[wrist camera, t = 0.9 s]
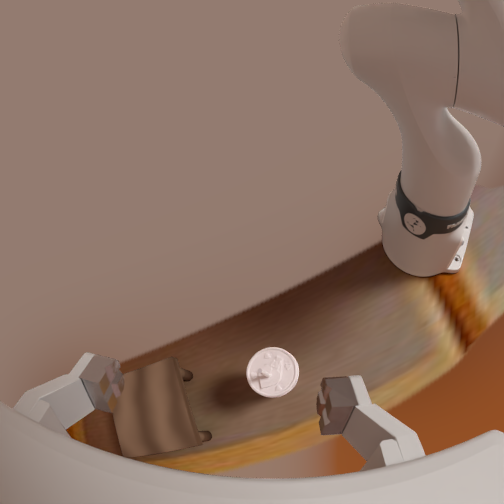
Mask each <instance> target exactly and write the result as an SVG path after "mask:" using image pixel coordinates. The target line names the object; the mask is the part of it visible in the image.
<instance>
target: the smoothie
mask: <svg viewBox="0 0 504 504" xmlns="http://www.w3.org/2000/svg"><path fill="white" fill-rule="evenodd" d="M246 376H247V380H248V383H249V385H250V386H251V388H252V389H253V390H254V391H255V392H256V393H258V394H260V395H262V396H265V397H271V398H274V397H280V396H282V395H285V394H287V393H288V392H289V391H290V390H292V389H293V388H294V387H295V386H296V384H297V380H298V377H299V367H298V363H297V361H296V359H295V358H294V357H293V356H292V354H290V353H289V352H287V351H286V350H284V349H281V348H277V347H269V348H265V349H262V350H260V351H259V352H257V353H256V354H255V355H254V356H253V357H252V358H251V359H250V361H249V363H248V366H247V371H246Z"/></svg>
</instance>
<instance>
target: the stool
mask: <svg viewBox="0 0 504 504" xmlns="http://www.w3.org/2000/svg"><path fill="white" fill-rule="evenodd" d="M123 376H124V383H125V384H124V390H123V392H122V394H121V395H120V396H118V397H116V399H117V404H116V406H115V408H114V410H113V412H112V413H113V418H114V423H115V427H116V431H117V436H118V440H119V444H120V447H121V451H122V455H123V457H126V458H131V457H139V456H146V455H153V454H159V453H165V452H171V451H176V450H181V449H186V448H190V447H195V446H199V445H203V444H202V442H204V441H209V440H211V438H212V435H211V433H210V432H209V431H198V429H197V426H196V423H195V420H194V416H193V413H192V410H191V407H190V403H189V400H188V396H187V393H186V389H185V386H184V382H183V380H186V381H190V380H191V379H192V378H193V374H192V372H190V371H188V370H185V369H182V368H180V367H179V363H178V359H177V358H174V357H169V358H167V359H164V360H161V361H159V362H156V363H153V364H151V365H148V366H145V367H142V368H140V369H137V370H134V371H131V372H128V373H125V374H123Z"/></svg>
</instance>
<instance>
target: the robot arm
mask: <svg viewBox="0 0 504 504" xmlns="http://www.w3.org/2000/svg"><path fill="white" fill-rule="evenodd" d="M458 2H459V4H460V6H461V10H462V13H461V14H455V15H454V14H450V13H446V12H442V11H438V10H433V9H429V8H423V7H418V6H412V5H406V4H399V3H381V4H370V5H362V6H356V7H354V8H352V10H350V11H349V12H348V14H347V15H346V16H345V18H344V20H343V22H342V25H341V27H340V34H339V44H340V49H341V53H342V56H343V58H344V60H345V62H346V64H347V66H348V67H349V69H350V70H351V71H352V73H353V74H354V75H355V76H356V77H357V78H358V79H359V80H360V81H362V82H363V83H365V84H366V85H368V86H369V87H370V88H371V89H372V90H374V91H375V92H376V93H377V94H378V95H379V96H380V97H381V99H382V100H383V101H384V102H385V103H386V105H387V106H388V108H389V109H390V111H391V112H392V114H393V116H394V117H395V119H396V121H397V123H398V126H399V129H400V132H401V136H402V149H403V153H402V170H401V171H400V173H399V175H398V179H397V182H396V188H395V189H394V190H393V191H390V193H389V195H388V199H387V204H386V207H385V208H383V209H382V210H381V211H380V212H379V213H378V221H379V223H380V225H381V227H382V243H383V247H384V250H385V252H386V254H387V256H388V257H389V259H390V260H391V261H392V262H393V263H394V264H395V265H396V266H397V267H398V268H400V269H401V270H403V271H404V272H406V273H409V274H411V275H415V276H422V277H425V276H432V275H436V274H439V273H442V272H446V273H457V272H458V271H459V269H460V267H461V264H462V260H463V257H464V253H465V250H466V246H467V242H468V238H469V234H470V230H471V226H472V222H473V217H474V213H473V211H472V210H471V208H470V201H471V199H470V197H471V194H472V191H473V189H474V186H475V183H476V181H477V178H478V175H479V172H480V169H481V155H480V151H479V148H478V146H477V144H476V142H475V140H474V139H473V137H472V136H471V134H470V133H469V132H468V131H467V130H466V128H465V127H463V126H462V125H461V124H460V123H459V122H458V121H457V120H456V119H455V118H453V116H452V115H451V114H450V113H449V111H448V110H447V107H450V108H452V107H453V108H456V109H459V110H462V111H465V112H468V113H471V114H474V115H476V116H479V117H481V118H484V119H487V120H489V121H492V122H494V123H496V124H499V125H501V126H503V127H504V0H458ZM455 259H456V260H457V261H455ZM119 368H120V364H119V361H118V360H116V359H113V358H109V357H104V356H101V355H96V354H92V353H89V352H87V353H84V355H83V356H82V357H81V358H80V360H79V361H78V362H77V364H76V365H75V366H74V368H73V369H72V370H71V372H70V373H69V374H68V375H67V374H65V375H63V376H60V377H58V378H55V379H53V380H51V381H49V382H46V383H44V384H42V385H40V386H37V387H35V388H33V389H30V390H28V391H26V392H25V393H24V395H23V396H22V397H21V398H20V400H19V401H18V402H17V404H16V405H15V406H14V408H13V409H12V408H11V407H9V406H7V405H6V404H4V403H3V402H1V401H0V504H504V433H502V432H500V431H498V430H492V431H489V432H486V433H484V434H482V435H479V436H477V437H475V438H473V439H471V440H468V441H466V442H463V443H461V444H458V445H456V446H453V447H451V448H448V449H445V450H442V451H439V452H436V453H434V454H430V455H427V456H425V453H424V451H423V448H422V446H421V443H420V441H419V438H418V436H417V434H416V432H414V431H413V430H411V429H410V428H408V427H407V426H406V425H404V424H403V423H401V422H400V421H398V420H397V419H396V418H394V417H393V416H391V415H390V414H389V413H387V412H386V411H384V410H383V409H382V408H380V407H379V406H378V405H376V404H372V403H371V400H370V398H369V395H368V392H367V390H366V387H365V384H364V382H363V379H362V377H361V376H360V375H358V376H348V377H347V376H345V377H326V378H323V379H322V382H321V389H322V390H320V391H319V392H318V396H317V404H316V405H317V414H318V415H319V416H321V418H320V421H319V426H320V431H321V435H334V434H342V436H343V437H344V438H345V439H346V440H347V441H348V442H349V443H350V444H351V445H352V446H353V447H354V448H355V449H356V450H357V451H358V452H359V453H360V455H361V456H362V457H363V458H364V459H365V460H366V461H367V462H366V464H365V465H364V466H363V468H362V469H361V470H360V471H359V472H354V473H347V474H340V475H331V476H321V477H307V478H282V479H281V478H280V479H267V478H266V479H264V478H241V477H228V476H217V475H209V474H201V473H194V472H188V471H182V470H176V469H171V468H166V467H161V466H157V465H152V464H148V463H144V462H140V461H136V460H133V459H129V458H126V457H122V456H119V455H116V454H112V453H109V452H106V451H103V450H101V449H98V448H95V447H92V446H89V445H87V444H84V443H82V442H79V441H77V440H74V439H72V438H71V436H70V435H69V434H68V432H67V431H66V429H67V428H69V427H70V426H72V425H73V424H75V423H76V422H78V421H79V420H80V419H82V418H83V417H85V416H86V415H88V414H89V413H90V412H92V411H93V410H95V409H98V410H102V411H106V412H110V413H112V412H113V410H114V408H115V406H116V404H117V399H116V397H118V396H120V395H121V394H122V392H123V390H124V384H125V383H124V376H123V374H122V373H121V372H120V371H119ZM94 408H95V409H94Z"/></svg>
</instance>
